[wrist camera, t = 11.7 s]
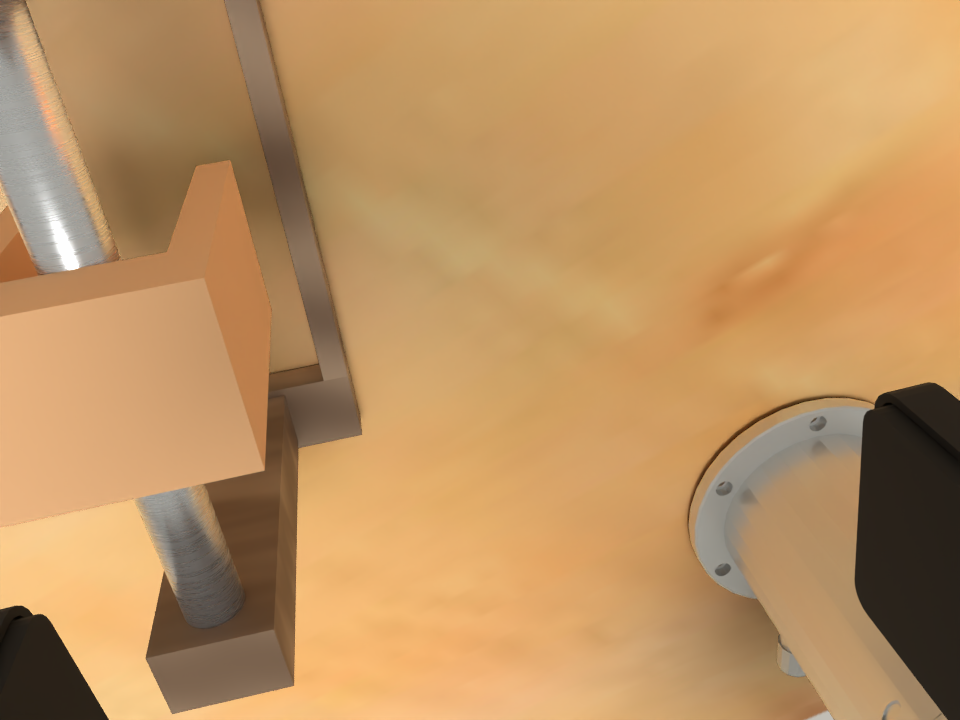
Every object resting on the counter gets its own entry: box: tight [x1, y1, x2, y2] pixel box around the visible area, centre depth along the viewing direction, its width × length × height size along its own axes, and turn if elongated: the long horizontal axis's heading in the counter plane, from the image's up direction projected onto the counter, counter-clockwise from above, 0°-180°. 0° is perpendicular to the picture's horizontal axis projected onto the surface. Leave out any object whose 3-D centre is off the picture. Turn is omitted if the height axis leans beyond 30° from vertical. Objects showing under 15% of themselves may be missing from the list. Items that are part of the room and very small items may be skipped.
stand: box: [146, 0, 362, 714], centre depth 26 cm, size 23×9×14 cm, turn 8°
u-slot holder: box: [0, 160, 272, 528], centre depth 22 cm, size 5×6×9 cm
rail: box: [0, 0, 245, 629], centre depth 21 cm, size 21×2×2 cm, turn 8°
